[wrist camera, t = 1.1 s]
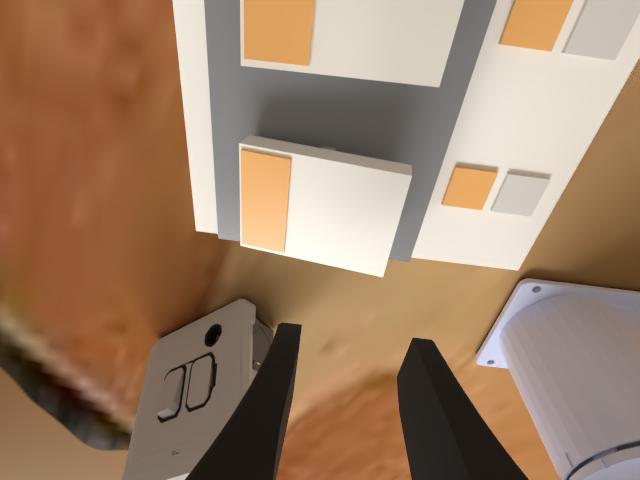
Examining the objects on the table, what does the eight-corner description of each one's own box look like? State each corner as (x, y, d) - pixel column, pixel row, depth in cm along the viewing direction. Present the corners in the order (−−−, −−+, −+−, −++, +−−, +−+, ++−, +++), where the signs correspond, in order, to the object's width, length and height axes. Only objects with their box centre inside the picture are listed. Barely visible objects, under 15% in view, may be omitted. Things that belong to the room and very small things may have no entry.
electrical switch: (248, 290, 23) (215, 445, 16) (295, 330, 25) (286, 478, 18) (153, 338, 26) (90, 484, 19) (204, 369, 29) (165, 507, 22)
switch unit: (721, -129, 11) (883, -185, 8) (510, 259, 20) (544, 310, 17) (163, -217, 11) (83, -317, 7) (202, 221, 20) (174, 265, 16)
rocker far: (411, 164, 12) (412, 177, 11) (384, 262, 15) (382, 278, 14) (249, 134, 13) (238, 144, 12) (249, 233, 15) (239, 247, 14)
